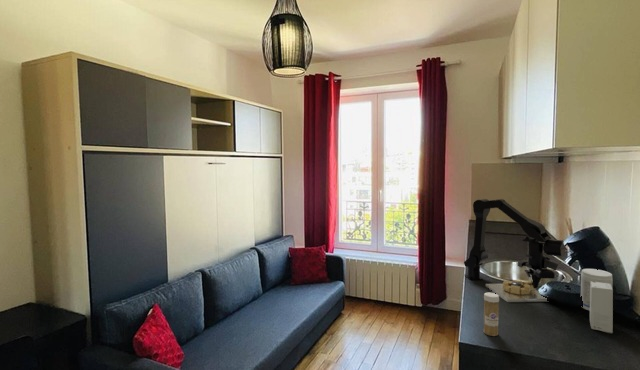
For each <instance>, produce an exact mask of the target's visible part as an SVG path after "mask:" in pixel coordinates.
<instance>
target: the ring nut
mask: <svg viewBox="0 0 640 370" xmlns="http://www.w3.org/2000/svg"><path fill="white" fill-rule="evenodd" d="M512 282H518V283H521V288H520V287H519V286H514V285H512ZM522 283H523V284H522ZM502 284H503V290H505V291H507V292H511V293H514V294H519V295H520V294H521V295H523V294H529V293H530V290H534V289H535V290H537V288H533V286H532V284H531V282H530V280H529V281H522V280H516V279H513V280H512V281H508V280H503V282H502Z"/></svg>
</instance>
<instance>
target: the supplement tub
mask: <svg viewBox="0 0 640 370" xmlns="http://www.w3.org/2000/svg"><path fill="white" fill-rule="evenodd" d="M597 269H598V268H597ZM597 269H596V268H583V269H581V274H580V297H581V296H582V301H583V307H582V309H584V310H587V311H588V312H590V282H591V281H592V282H600V283H608V284H611V286H612V287H613V281H614V280H613V274H612V273H611V272H609V271H606V270H602V269H598V270H597Z"/></svg>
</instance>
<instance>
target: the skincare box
mask: <svg viewBox="0 0 640 370" xmlns="http://www.w3.org/2000/svg"><path fill="white" fill-rule="evenodd" d="M613 293H614V289H613V285H612V286H611V284H608V283H600V282H592V281H591V282H590V311H589V323H590V324H589V325H590V328H591V329H592V330H595V331H601V332H604V333H607V334H613V333H614V331H613V329H614V328H613V325H614V324H613V323H614V321H613V318H614V316H613V314H614V312H613V311H614V308H613V305H614V303H613V301H614V299H613V297H614V295H613Z"/></svg>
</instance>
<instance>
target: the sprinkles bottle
mask: <svg viewBox="0 0 640 370" xmlns="http://www.w3.org/2000/svg"><path fill="white" fill-rule="evenodd" d="M483 300H484V302H483V304H484V305H483V306H484V307H483V330H482V331H483V333H484V334H485V335H487V336H492V337H496V336H499V315H500V314H499V302H500V296H499V295H497V294H495V293H494V292H485V293H483Z"/></svg>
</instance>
